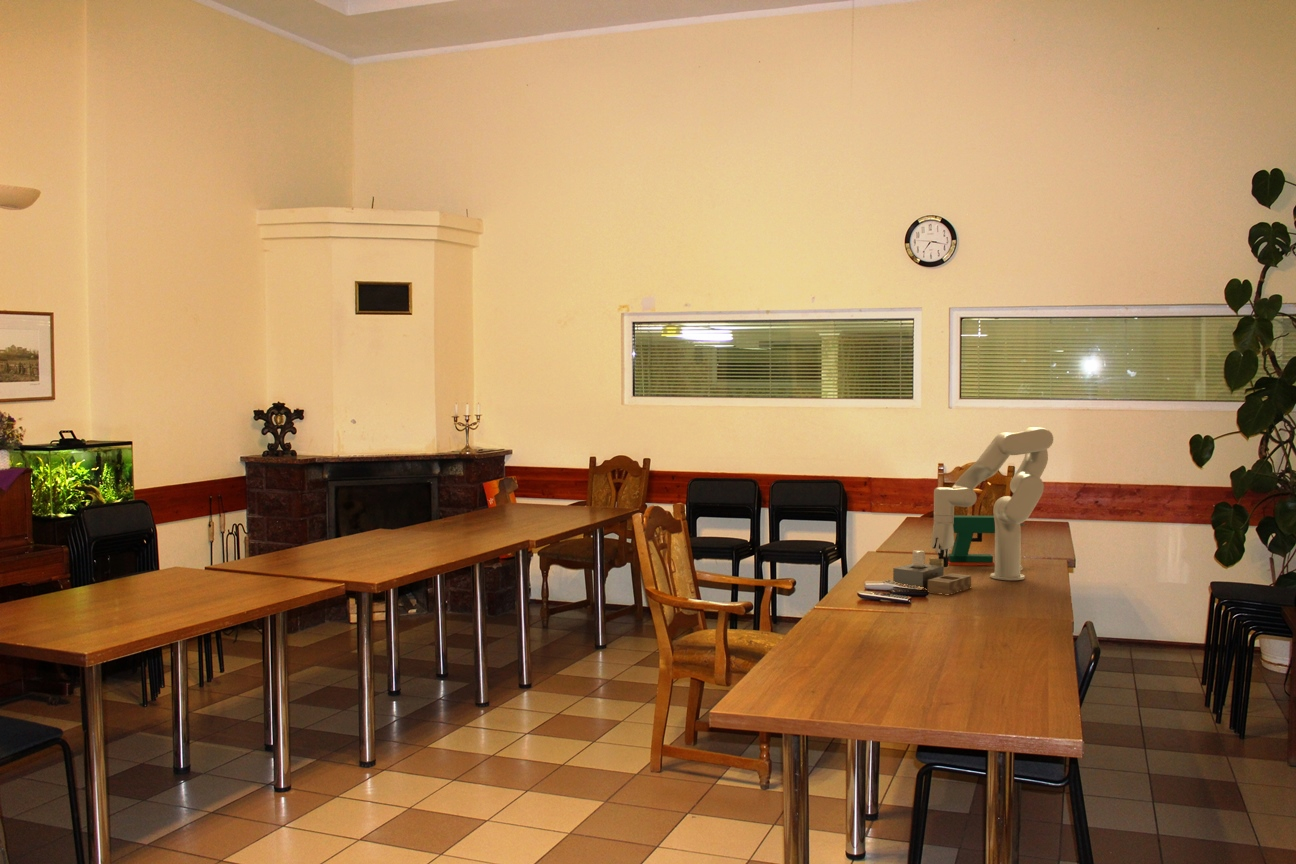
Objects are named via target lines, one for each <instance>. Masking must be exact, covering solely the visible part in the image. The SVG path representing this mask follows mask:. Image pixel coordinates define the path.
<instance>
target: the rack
mask: <svg viewBox="0 0 1296 864" xmlns="http://www.w3.org/2000/svg"><path fill="white" fill-rule="evenodd" d="M970 587H971V588H972V575H968V574H959V573H947V574H944V576H940V577H937V578H933V579H930V580H928V590H927V592H928V591H929V592H931V593H930V594H936V593H942V594H941V595H943V594H951V593H954V592H957V591H960V590H963V591H965V590H964V589H966V590H968V589H967V588H969V589H971V588H970ZM960 592H961V591H960ZM957 593H958V592H957ZM954 594H955V593H954ZM951 595H952V594H951Z"/></svg>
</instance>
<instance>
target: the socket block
mask: <svg viewBox="0 0 1296 864" xmlns="http://www.w3.org/2000/svg"><path fill="white" fill-rule="evenodd" d="M944 568H945V567H944V566H937V565H929V564H927V563H925V568H924V569H917V568H913V562H912V563H908V564H904V565H900V566H895V567H894V568H893V571H892V574H893V575H892V576H893V577H892V581H895V582H898V583H902V584H908V585H916V586H920V587H924V588H926V589H928V580H930V579H933V578H937V577H940V576H944V575H945V574H944V570H945V569H944Z"/></svg>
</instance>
